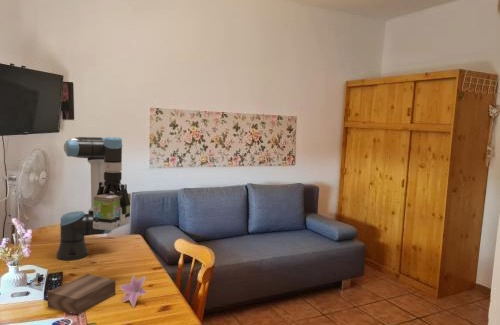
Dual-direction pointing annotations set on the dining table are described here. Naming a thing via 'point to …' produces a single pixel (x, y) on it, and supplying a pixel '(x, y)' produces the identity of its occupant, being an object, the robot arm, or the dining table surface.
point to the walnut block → (81, 293)
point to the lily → (133, 290)
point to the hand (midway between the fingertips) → (112, 219)
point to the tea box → (109, 212)
